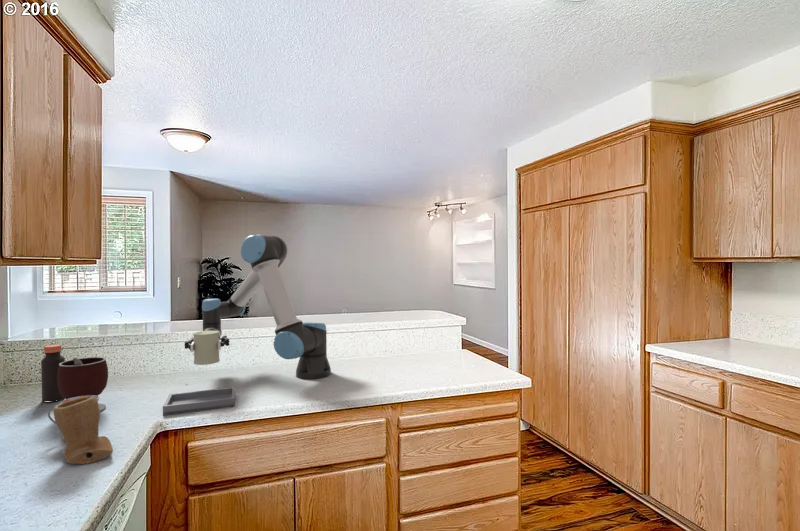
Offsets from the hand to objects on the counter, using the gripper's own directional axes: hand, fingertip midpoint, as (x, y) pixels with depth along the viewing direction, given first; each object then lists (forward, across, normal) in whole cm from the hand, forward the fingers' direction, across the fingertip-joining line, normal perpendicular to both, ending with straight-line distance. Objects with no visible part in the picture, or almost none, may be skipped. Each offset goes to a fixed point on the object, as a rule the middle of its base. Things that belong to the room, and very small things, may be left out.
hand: (205, 347), depth 162 cm
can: (-5, 0, -7) cm, 8 cm away
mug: (+29, +32, -18) cm, 47 cm away
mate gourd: (+5, +38, -18) cm, 42 cm away
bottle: (-15, +53, -18) cm, 58 cm away
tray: (+12, +1, -18) cm, 22 cm away
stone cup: (+44, +26, -18) cm, 54 cm away
